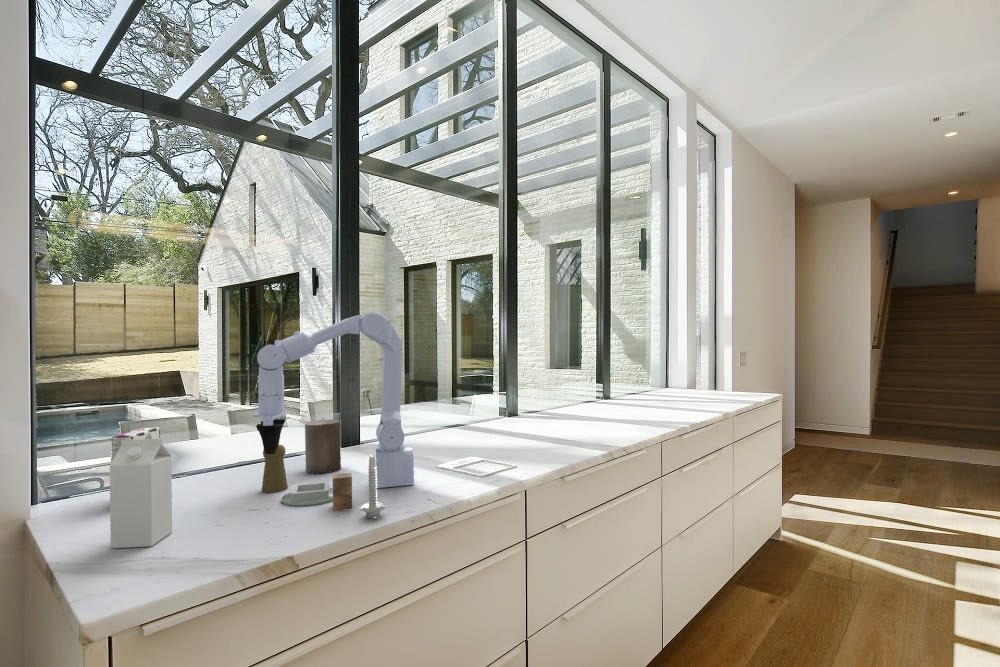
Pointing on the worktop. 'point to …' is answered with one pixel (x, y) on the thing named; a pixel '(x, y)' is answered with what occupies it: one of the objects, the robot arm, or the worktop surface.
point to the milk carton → (140, 494)
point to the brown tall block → (342, 491)
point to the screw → (372, 492)
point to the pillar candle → (322, 446)
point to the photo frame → (471, 461)
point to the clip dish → (309, 494)
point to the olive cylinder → (274, 471)
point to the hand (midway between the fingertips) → (271, 451)
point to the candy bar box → (134, 437)
